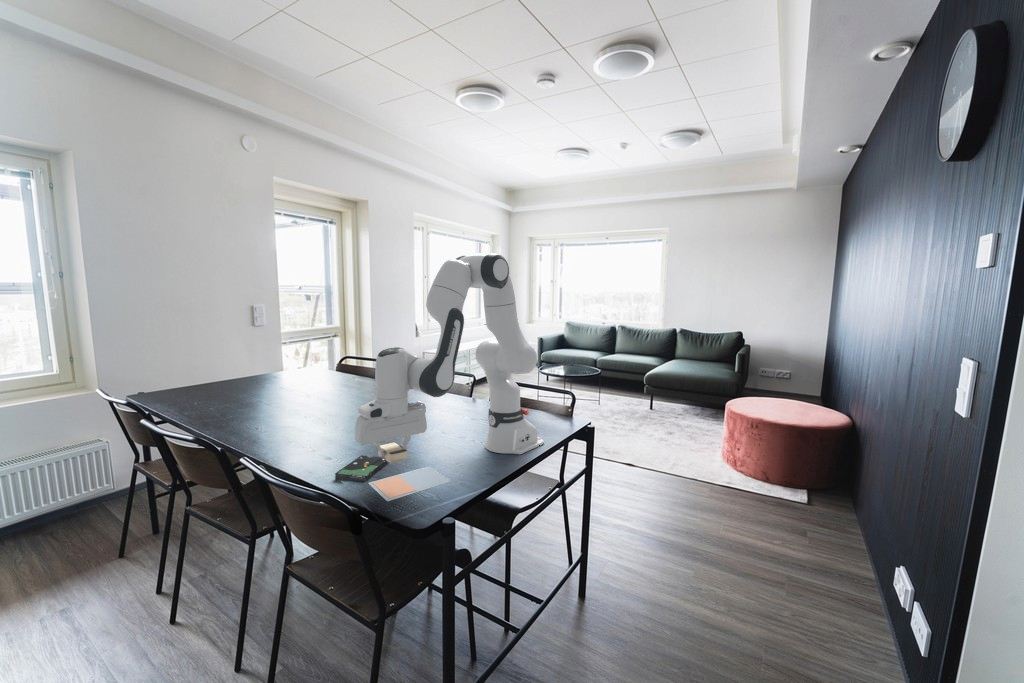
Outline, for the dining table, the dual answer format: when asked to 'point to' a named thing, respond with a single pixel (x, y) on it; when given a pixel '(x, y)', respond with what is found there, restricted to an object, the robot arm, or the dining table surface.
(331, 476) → the dining table surface
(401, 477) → the mat
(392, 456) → the cream curved ramp
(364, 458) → the disk drive
